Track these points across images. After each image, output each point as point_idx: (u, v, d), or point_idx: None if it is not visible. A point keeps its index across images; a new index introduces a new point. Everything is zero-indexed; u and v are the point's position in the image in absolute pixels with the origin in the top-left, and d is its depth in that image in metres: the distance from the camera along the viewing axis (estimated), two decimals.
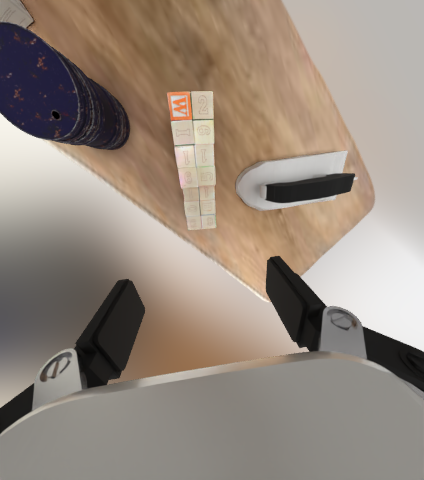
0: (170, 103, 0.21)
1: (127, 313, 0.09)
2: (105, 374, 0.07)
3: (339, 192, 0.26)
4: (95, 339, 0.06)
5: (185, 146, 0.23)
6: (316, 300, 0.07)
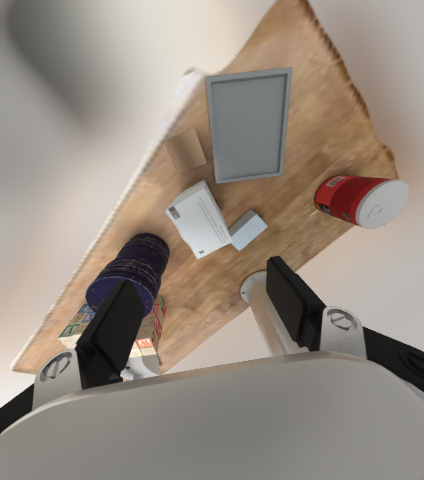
0: (144, 339, 0.32)
1: (127, 313, 0.09)
2: (105, 374, 0.07)
3: None
4: (95, 339, 0.06)
5: None
6: (316, 300, 0.07)
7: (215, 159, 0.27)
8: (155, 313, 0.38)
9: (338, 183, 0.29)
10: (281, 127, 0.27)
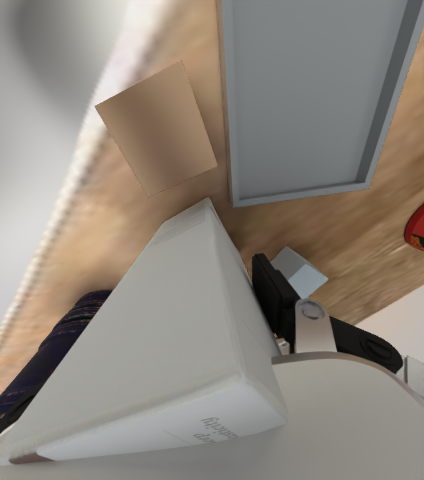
0: None
1: None
2: None
3: None
4: None
5: None
6: (290, 293, 0.07)
7: (234, 157, 0.12)
8: None
9: None
10: (387, 80, 0.11)
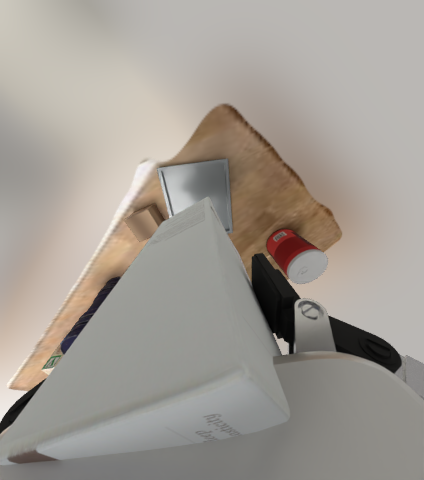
0: None
1: None
2: None
3: None
4: None
5: None
6: (289, 293, 0.07)
7: None
8: None
9: (279, 240, 0.34)
10: (226, 197, 0.31)
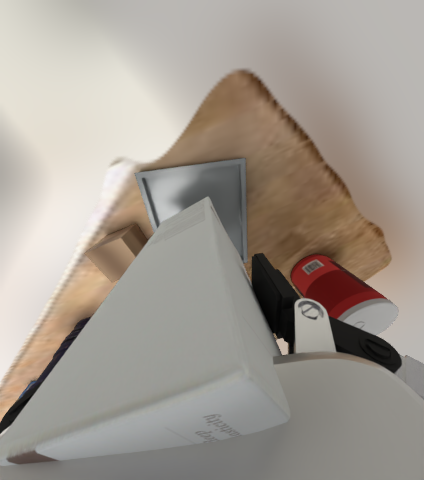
0: None
1: None
2: None
3: None
4: None
5: None
6: (289, 293, 0.07)
7: None
8: None
9: (314, 273, 0.24)
10: (241, 215, 0.22)
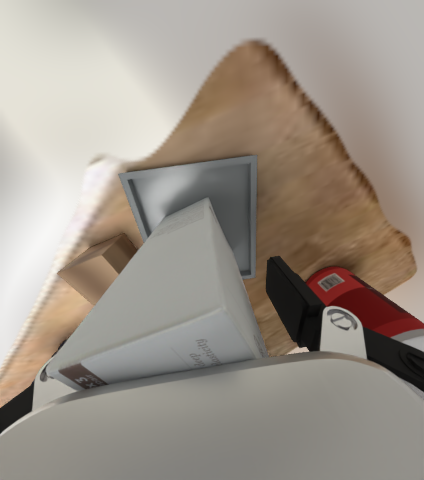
0: None
1: None
2: None
3: None
4: None
5: None
6: (316, 300, 0.07)
7: None
8: None
9: (333, 290, 0.21)
10: (249, 223, 0.18)
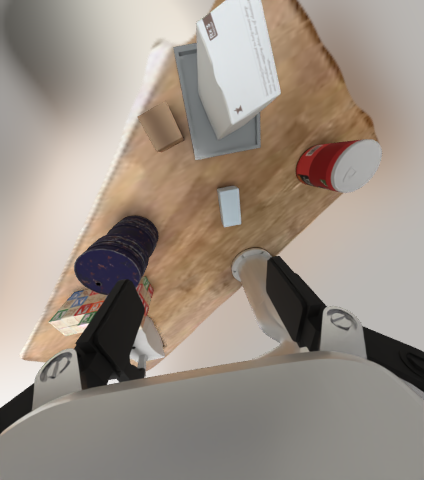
0: None
1: (127, 313, 0.09)
2: (105, 374, 0.07)
3: None
4: (95, 339, 0.06)
5: None
6: (316, 300, 0.07)
7: (192, 134, 0.28)
8: (138, 291, 0.39)
9: (315, 151, 0.29)
10: None
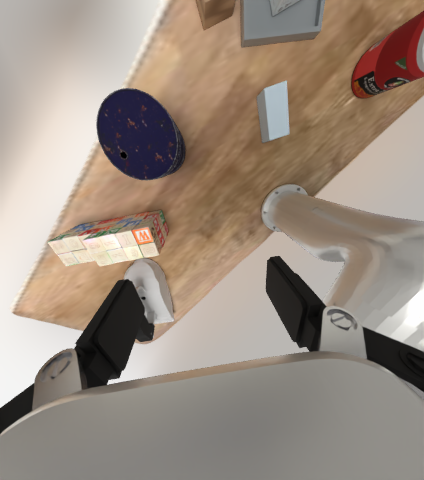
0: (142, 229, 0.28)
1: (127, 313, 0.09)
2: (105, 374, 0.07)
3: (137, 338, 0.38)
4: (95, 339, 0.06)
5: (118, 241, 0.28)
6: (316, 300, 0.07)
7: None
8: (155, 217, 0.33)
9: (387, 37, 0.25)
10: None
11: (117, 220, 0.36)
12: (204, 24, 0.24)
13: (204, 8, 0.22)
